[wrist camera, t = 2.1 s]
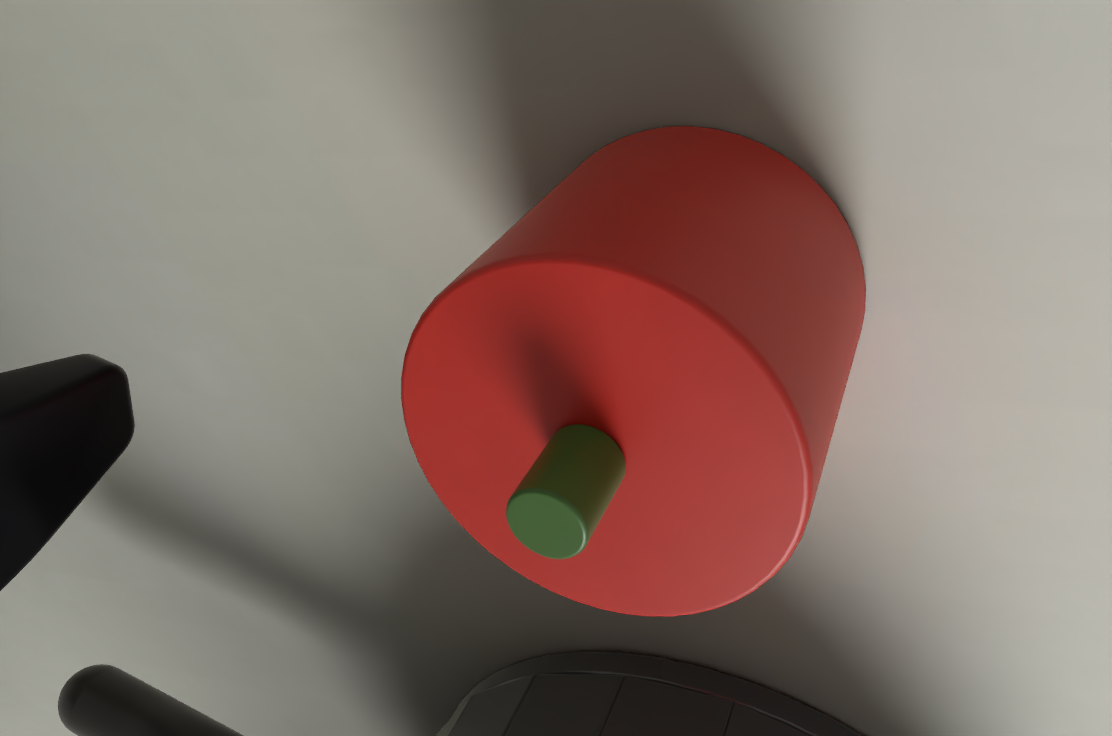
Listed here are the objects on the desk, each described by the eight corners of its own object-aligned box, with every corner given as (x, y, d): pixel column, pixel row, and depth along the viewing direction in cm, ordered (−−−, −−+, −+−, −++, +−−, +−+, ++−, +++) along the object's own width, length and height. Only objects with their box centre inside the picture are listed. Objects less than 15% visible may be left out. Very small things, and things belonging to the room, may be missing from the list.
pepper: (521, 359, 15) (334, 582, 11) (570, 79, 12) (343, 238, 8) (800, 470, 14) (709, 761, 10) (924, 191, 11) (869, 439, 7)
